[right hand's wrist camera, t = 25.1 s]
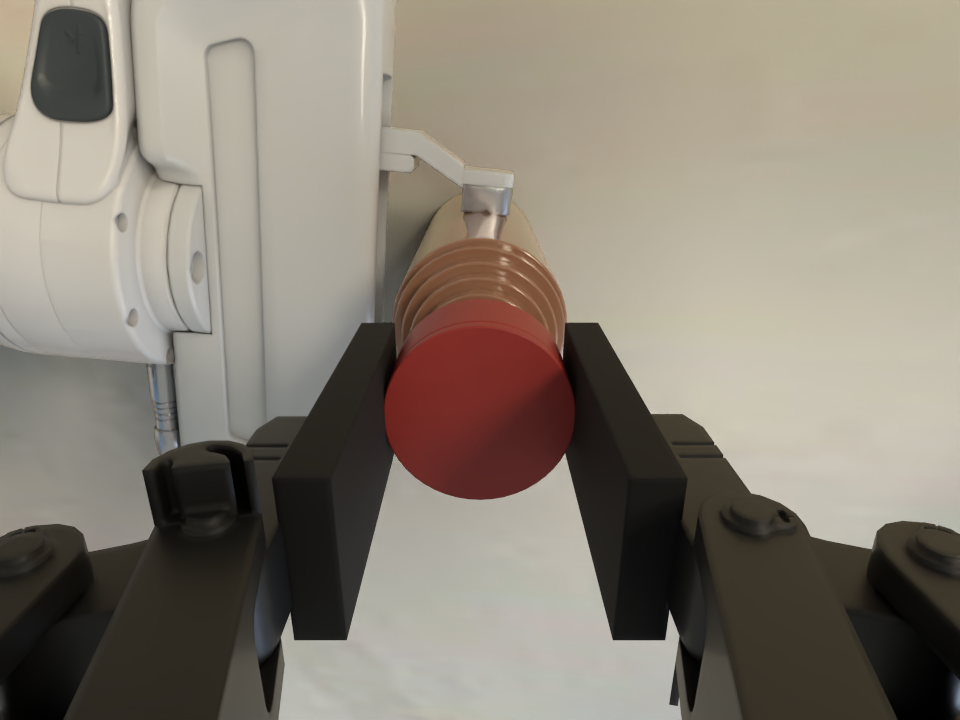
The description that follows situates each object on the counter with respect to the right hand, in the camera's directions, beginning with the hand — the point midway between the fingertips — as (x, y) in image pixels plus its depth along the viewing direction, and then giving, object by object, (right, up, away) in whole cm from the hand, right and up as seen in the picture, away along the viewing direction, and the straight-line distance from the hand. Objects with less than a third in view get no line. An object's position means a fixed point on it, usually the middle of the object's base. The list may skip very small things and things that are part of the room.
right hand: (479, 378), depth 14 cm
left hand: (+1, +4, +9) cm, 10 cm away
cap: (0, -1, -2) cm, 2 cm away
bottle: (0, +6, +15) cm, 16 cm away
